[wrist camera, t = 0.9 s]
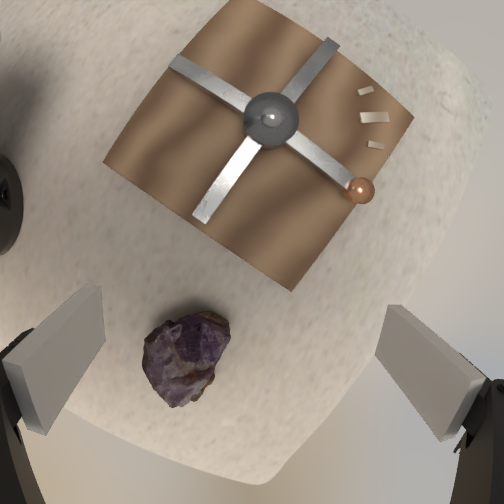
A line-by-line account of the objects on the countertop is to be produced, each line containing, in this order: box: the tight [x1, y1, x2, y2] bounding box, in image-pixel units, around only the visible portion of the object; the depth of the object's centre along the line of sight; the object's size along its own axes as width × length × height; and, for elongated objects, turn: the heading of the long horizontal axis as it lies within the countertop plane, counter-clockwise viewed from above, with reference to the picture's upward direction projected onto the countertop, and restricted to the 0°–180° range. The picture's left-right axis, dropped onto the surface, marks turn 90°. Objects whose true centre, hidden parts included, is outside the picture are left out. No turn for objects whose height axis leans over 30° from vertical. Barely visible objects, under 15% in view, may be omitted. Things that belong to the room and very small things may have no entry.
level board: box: [103, 0, 414, 292], centre depth 32 cm, size 26×26×2 cm
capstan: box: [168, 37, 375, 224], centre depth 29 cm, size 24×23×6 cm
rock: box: [142, 311, 231, 408], centre depth 34 cm, size 12×9×10 cm
